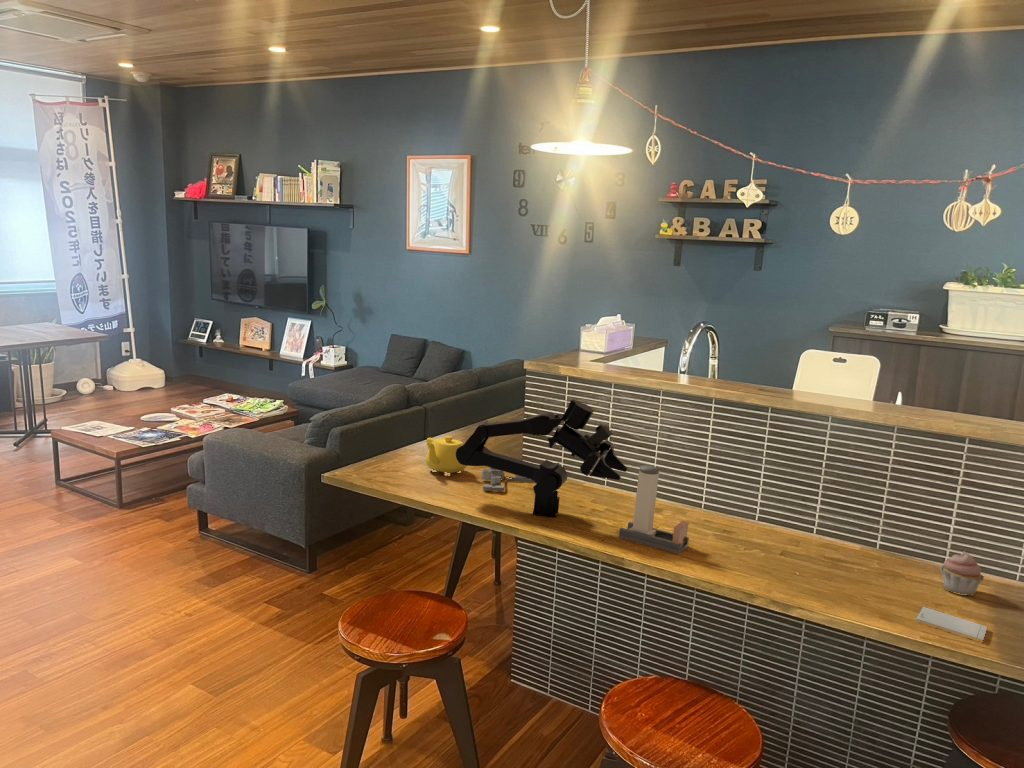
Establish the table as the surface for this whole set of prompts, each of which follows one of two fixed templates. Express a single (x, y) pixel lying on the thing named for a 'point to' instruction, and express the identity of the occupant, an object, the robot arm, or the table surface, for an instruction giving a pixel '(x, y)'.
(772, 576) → the table surface
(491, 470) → the pulley system
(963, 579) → the cupcake
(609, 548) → the table surface
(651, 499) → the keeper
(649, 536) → the rail
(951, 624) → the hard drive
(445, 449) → the teapot
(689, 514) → the table surface
